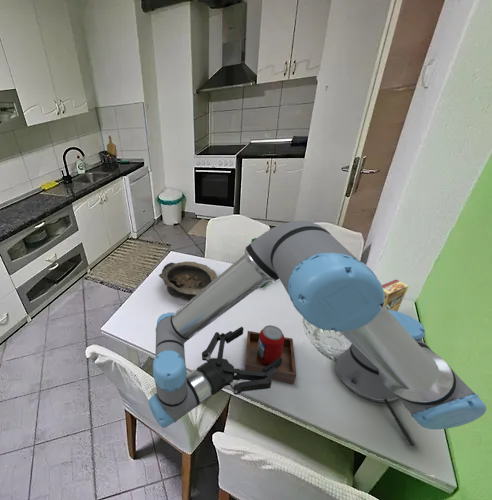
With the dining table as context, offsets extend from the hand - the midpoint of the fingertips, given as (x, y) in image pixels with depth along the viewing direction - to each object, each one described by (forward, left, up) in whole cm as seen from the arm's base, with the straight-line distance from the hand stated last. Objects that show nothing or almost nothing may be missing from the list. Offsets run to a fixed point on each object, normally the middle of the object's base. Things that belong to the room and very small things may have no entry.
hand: (260, 344), depth 81 cm
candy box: (+30, -38, -11) cm, 50 cm away
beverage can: (+4, -3, -10) cm, 11 cm away
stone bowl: (+34, +29, -11) cm, 46 cm away
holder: (+4, -3, -11) cm, 12 cm away
